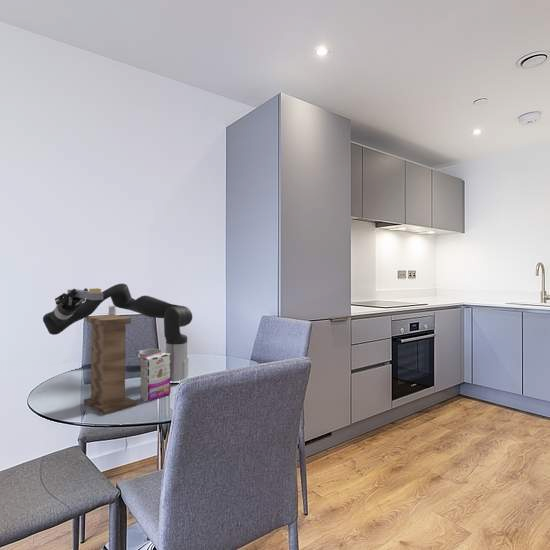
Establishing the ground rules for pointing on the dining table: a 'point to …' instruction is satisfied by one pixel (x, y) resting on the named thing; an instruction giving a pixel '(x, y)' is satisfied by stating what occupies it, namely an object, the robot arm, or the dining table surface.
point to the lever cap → (89, 294)
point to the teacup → (147, 353)
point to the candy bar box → (155, 376)
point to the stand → (108, 364)
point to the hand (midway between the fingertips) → (80, 290)
